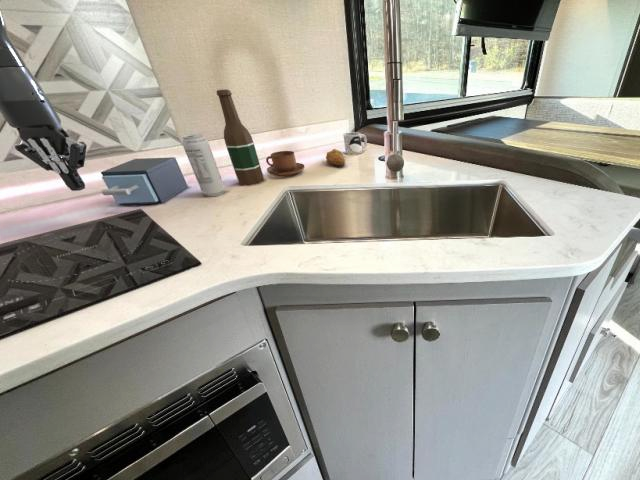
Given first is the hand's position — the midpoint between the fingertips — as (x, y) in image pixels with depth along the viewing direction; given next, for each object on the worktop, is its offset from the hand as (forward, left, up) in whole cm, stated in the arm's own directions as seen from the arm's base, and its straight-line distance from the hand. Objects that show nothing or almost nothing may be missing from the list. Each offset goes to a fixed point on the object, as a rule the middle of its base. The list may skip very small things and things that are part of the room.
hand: (78, 189), depth 70 cm
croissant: (+49, +48, -8) cm, 69 cm away
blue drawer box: (+1, +20, -8) cm, 21 cm away
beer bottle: (+25, +30, -8) cm, 40 cm away
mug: (+55, +66, -8) cm, 86 cm away
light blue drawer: (+1, +15, -7) cm, 17 cm away
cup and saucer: (+34, +38, -8) cm, 52 cm away
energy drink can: (+18, +20, -8) cm, 28 cm away
